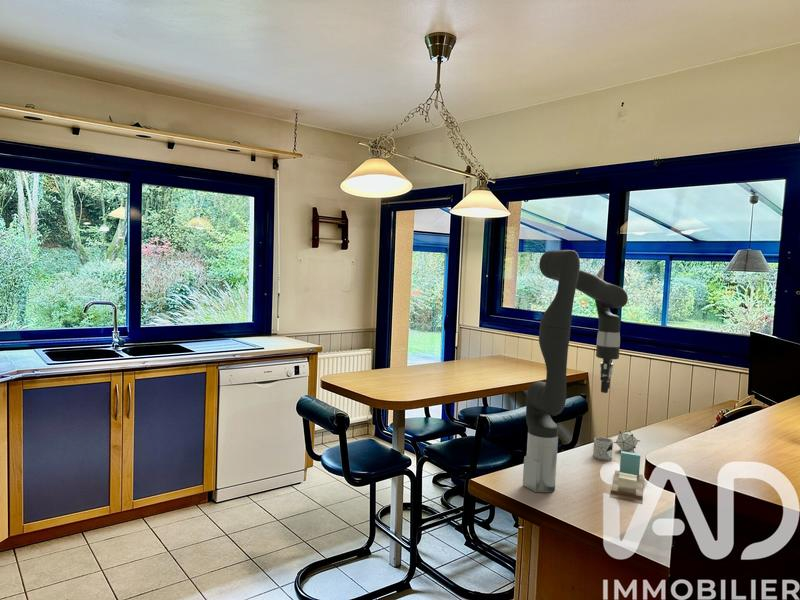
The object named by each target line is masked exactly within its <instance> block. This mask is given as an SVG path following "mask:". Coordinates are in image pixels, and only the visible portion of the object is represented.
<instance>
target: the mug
mask: <svg viewBox="0 0 800 600" xmlns="http://www.w3.org/2000/svg"><path fill="white" fill-rule="evenodd" d="M613 444H614V440H613V439H611V438H608V437H601V436H596V437H594V439H593V449H592V450H593V452H592V453H593V455H592V456H593V458H595V459H598V460H603V461H610V460H612V459H613V448H614V447H613V446H614V445H613Z"/></svg>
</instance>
